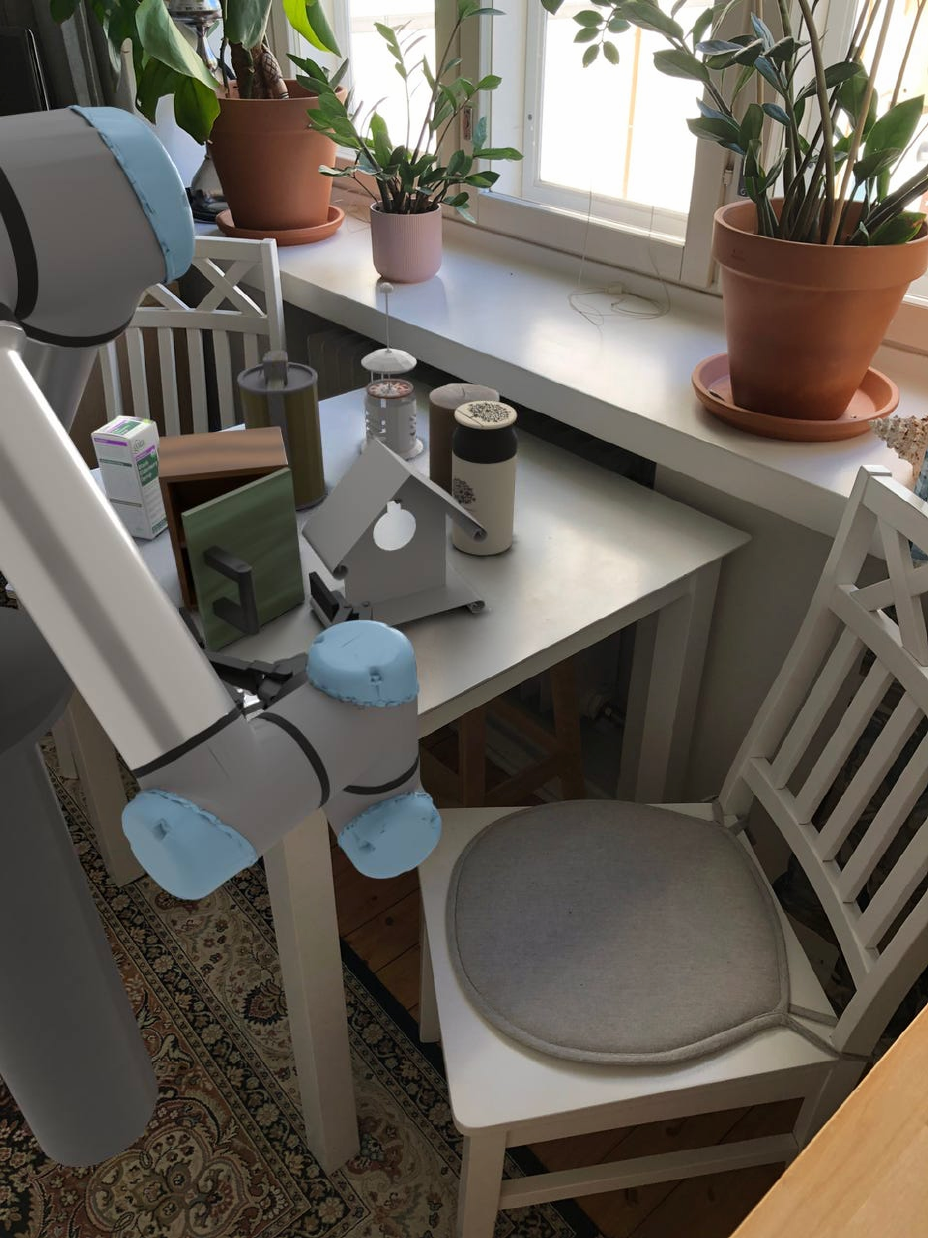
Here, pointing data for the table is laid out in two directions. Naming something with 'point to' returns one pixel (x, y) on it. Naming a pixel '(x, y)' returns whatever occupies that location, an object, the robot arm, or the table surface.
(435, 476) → the pillar candle
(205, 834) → the robot arm
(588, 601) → the table surface
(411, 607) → the grey house-shaped piece
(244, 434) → the compartment
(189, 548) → the door
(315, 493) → the canister
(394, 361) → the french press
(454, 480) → the travel mug
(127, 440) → the syrup box
